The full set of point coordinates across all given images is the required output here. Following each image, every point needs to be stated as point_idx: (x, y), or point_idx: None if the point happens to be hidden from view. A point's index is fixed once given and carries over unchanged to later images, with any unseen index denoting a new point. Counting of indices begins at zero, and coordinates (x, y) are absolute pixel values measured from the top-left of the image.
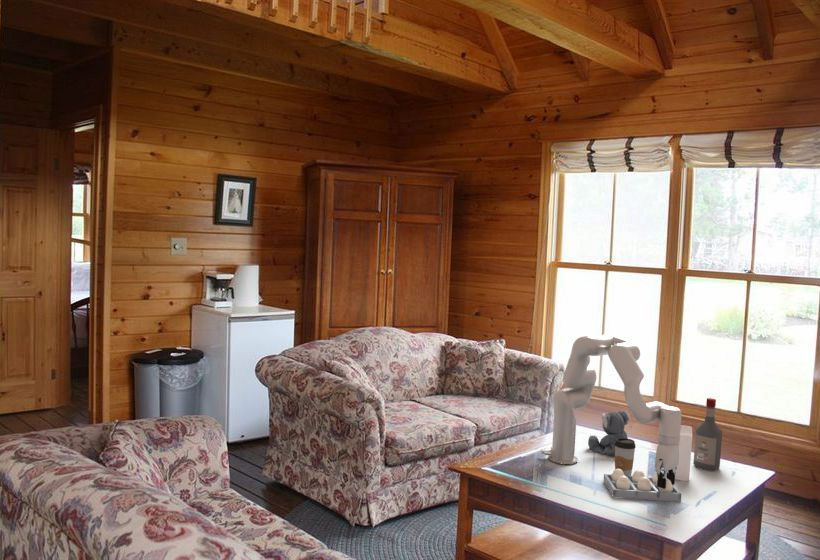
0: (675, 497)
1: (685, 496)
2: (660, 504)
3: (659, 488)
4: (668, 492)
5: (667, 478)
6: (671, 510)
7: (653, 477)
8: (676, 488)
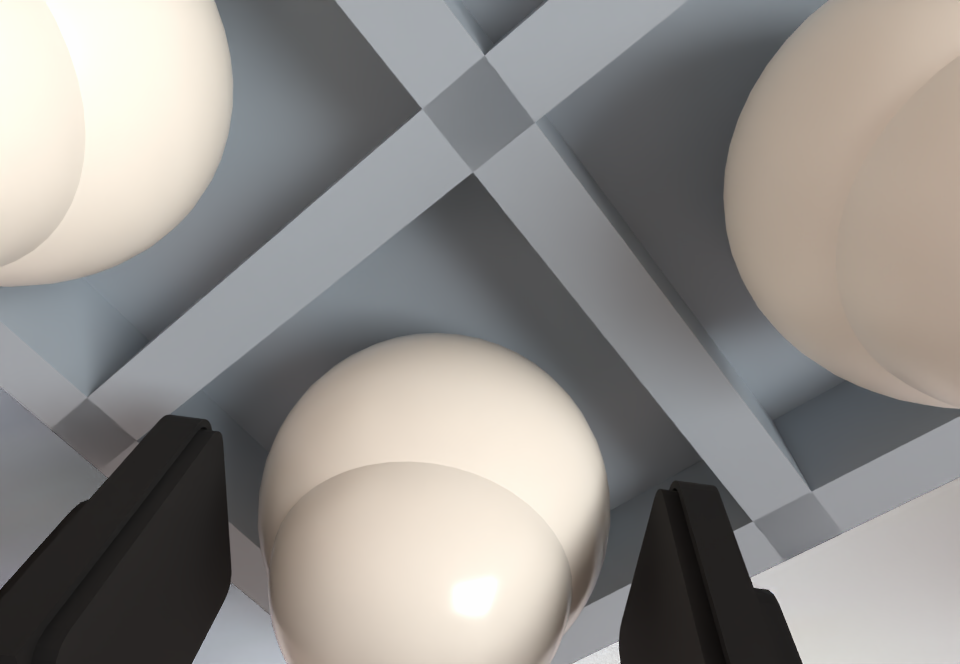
0: None
1: None
2: (45, 450)
3: (300, 398)
4: None
5: (674, 609)
6: None
7: (878, 17)
8: None
